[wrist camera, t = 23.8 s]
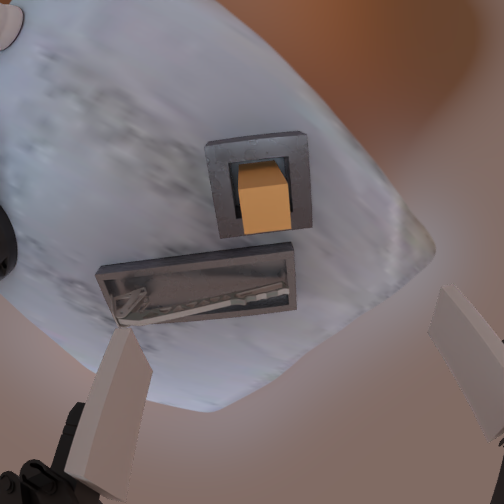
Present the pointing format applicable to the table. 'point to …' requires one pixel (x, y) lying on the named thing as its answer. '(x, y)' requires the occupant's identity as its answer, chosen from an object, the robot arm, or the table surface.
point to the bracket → (186, 304)
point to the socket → (254, 148)
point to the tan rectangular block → (263, 197)
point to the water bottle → (9, 24)
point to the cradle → (206, 280)
